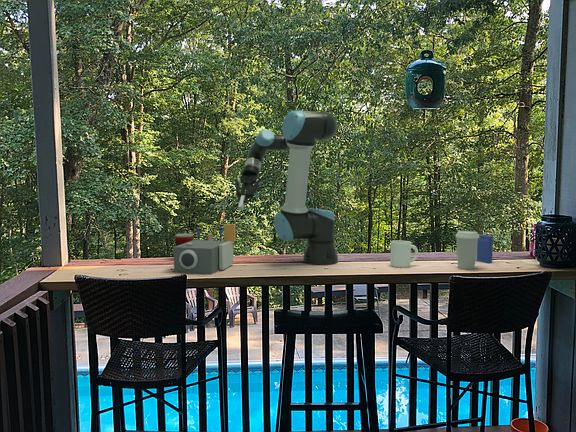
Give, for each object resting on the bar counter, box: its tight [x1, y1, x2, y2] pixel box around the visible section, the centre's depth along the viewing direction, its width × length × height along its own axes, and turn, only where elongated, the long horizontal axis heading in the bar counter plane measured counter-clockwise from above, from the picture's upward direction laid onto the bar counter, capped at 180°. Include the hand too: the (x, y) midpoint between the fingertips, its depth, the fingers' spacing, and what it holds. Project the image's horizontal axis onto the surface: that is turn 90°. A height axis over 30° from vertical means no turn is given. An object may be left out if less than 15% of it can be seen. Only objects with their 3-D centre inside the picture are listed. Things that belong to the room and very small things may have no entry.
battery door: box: [219, 223, 237, 271], centre depth 230 cm, size 4×13×17 cm, turn 166°
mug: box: [389, 239, 419, 268], centre depth 236 cm, size 12×8×10 cm
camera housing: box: [173, 239, 227, 275], centre depth 228 cm, size 16×22×11 cm
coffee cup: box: [455, 230, 480, 270], centre depth 232 cm, size 10×10×15 cm
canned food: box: [174, 233, 194, 247], centre depth 250 cm, size 8×8×11 cm
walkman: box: [475, 233, 494, 264], centre depth 247 cm, size 8×3×12 cm, turn 39°
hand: (240, 208), depth 248 cm, fingers closed
